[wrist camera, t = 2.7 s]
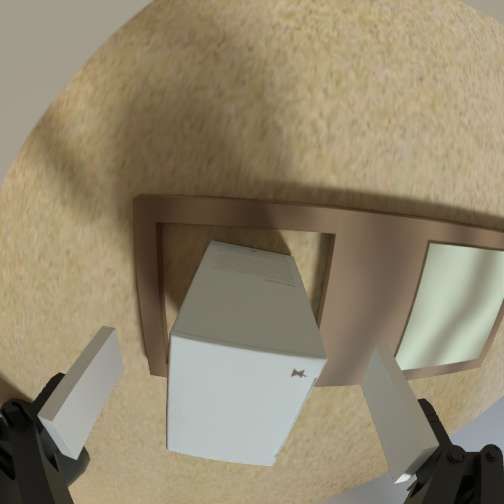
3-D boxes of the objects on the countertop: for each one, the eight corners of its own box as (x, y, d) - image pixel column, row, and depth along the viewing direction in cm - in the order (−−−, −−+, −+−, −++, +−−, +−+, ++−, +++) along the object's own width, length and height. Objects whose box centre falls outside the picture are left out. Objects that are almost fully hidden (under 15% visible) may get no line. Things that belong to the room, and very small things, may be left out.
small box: (210, 237, 19) (166, 327, 9) (295, 254, 19) (332, 356, 9) (195, 337, 22) (162, 451, 12) (267, 351, 22) (273, 469, 12)
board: (154, 365, 23) (149, 376, 21) (140, 194, 18) (131, 197, 17) (474, 360, 23) (481, 368, 22) (519, 234, 18) (528, 238, 17)
